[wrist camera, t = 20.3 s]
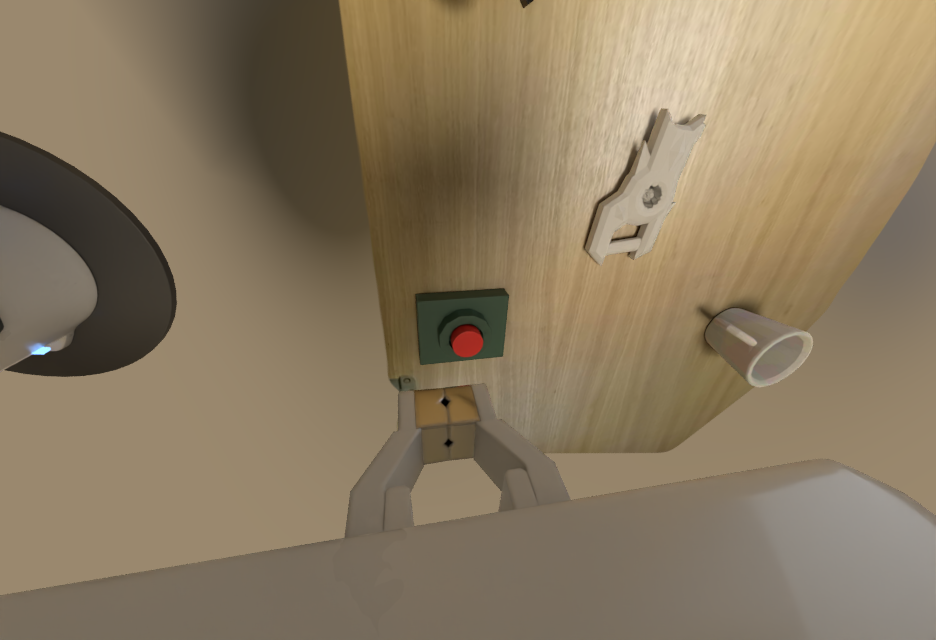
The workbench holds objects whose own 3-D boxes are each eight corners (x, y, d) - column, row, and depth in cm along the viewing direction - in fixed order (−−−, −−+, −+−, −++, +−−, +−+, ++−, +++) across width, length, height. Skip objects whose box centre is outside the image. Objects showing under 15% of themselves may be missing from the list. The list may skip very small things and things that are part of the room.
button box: (419, 355, 48) (421, 373, 45) (415, 294, 43) (417, 308, 40) (498, 348, 50) (506, 364, 47) (504, 288, 45) (513, 301, 42)
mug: (716, 357, 62) (768, 395, 53) (670, 330, 56) (719, 367, 47) (762, 313, 58) (825, 346, 50) (718, 278, 52) (781, 309, 44)
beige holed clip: (644, 104, 33) (723, 116, 36) (624, 103, 36) (699, 115, 38) (588, 270, 43) (653, 271, 45) (576, 259, 46) (637, 260, 48)
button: (450, 351, 44) (452, 358, 43) (450, 325, 42) (452, 332, 41) (479, 348, 45) (482, 355, 44) (480, 323, 43) (484, 330, 42)
